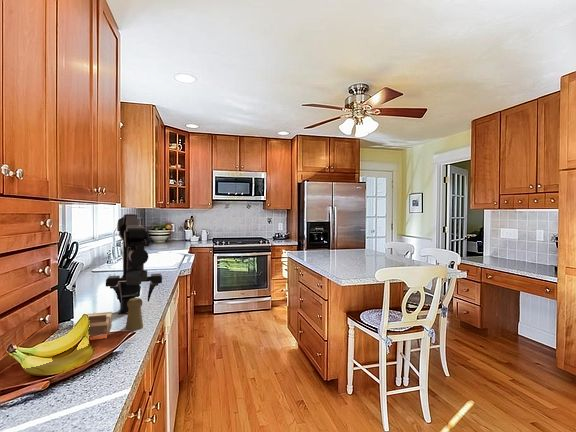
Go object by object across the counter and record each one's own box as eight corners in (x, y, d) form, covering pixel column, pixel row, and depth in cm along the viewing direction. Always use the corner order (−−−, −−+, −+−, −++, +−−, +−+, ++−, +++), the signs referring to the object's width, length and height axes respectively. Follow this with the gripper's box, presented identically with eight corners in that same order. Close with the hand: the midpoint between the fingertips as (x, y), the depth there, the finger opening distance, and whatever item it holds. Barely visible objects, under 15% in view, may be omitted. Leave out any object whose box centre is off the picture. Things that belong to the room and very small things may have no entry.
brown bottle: (138, 323, 124) (139, 295, 123) (146, 327, 120) (146, 298, 120) (122, 327, 119) (123, 298, 119) (129, 332, 115) (130, 301, 115)
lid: (87, 316, 117) (87, 308, 117) (111, 314, 120) (111, 306, 120) (79, 328, 106) (79, 319, 106) (107, 325, 109) (107, 316, 109)
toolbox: (86, 329, 117) (87, 316, 117) (111, 326, 120) (111, 314, 120) (79, 341, 106) (79, 328, 106) (106, 338, 109) (107, 325, 109)
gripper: (103, 265, 108) (102, 311, 108) (162, 263, 115) (161, 306, 115) (108, 260, 118) (107, 302, 118) (162, 259, 125) (161, 298, 126)
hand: (134, 302), depth 119 cm, fingers open, 9 cm apart
